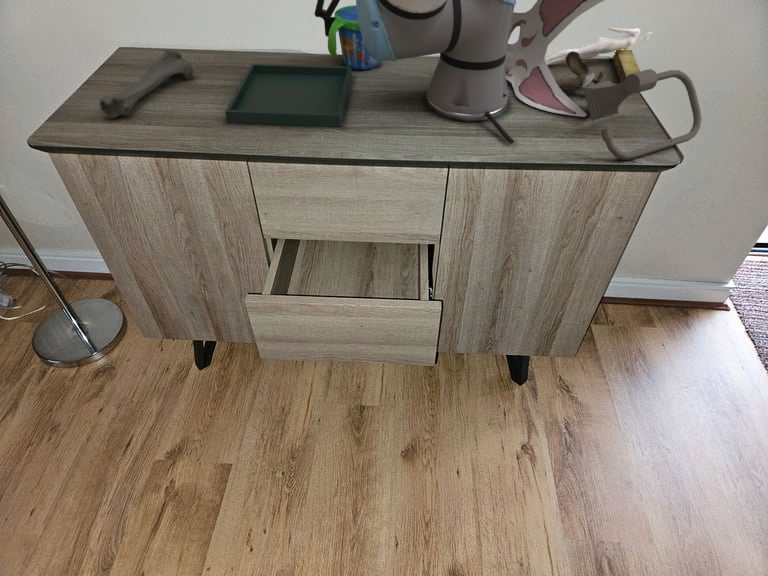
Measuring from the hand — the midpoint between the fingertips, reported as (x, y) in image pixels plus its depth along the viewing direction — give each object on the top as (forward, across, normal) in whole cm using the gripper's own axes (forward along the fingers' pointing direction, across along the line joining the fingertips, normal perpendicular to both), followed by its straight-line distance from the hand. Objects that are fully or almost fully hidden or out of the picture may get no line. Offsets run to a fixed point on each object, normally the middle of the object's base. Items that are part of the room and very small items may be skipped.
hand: (361, 53), depth 110 cm
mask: (-1, -22, -4) cm, 23 cm away
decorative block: (-1, -54, 0) cm, 54 cm away
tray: (+2, +12, +17) cm, 21 cm away
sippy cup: (+2, 0, 0) cm, 2 cm away
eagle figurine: (+2, -43, +9) cm, 44 cm away
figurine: (+1, -37, +1) cm, 37 cm away
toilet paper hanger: (+5, -52, +29) cm, 60 cm away
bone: (+3, +38, +18) cm, 42 cm away
